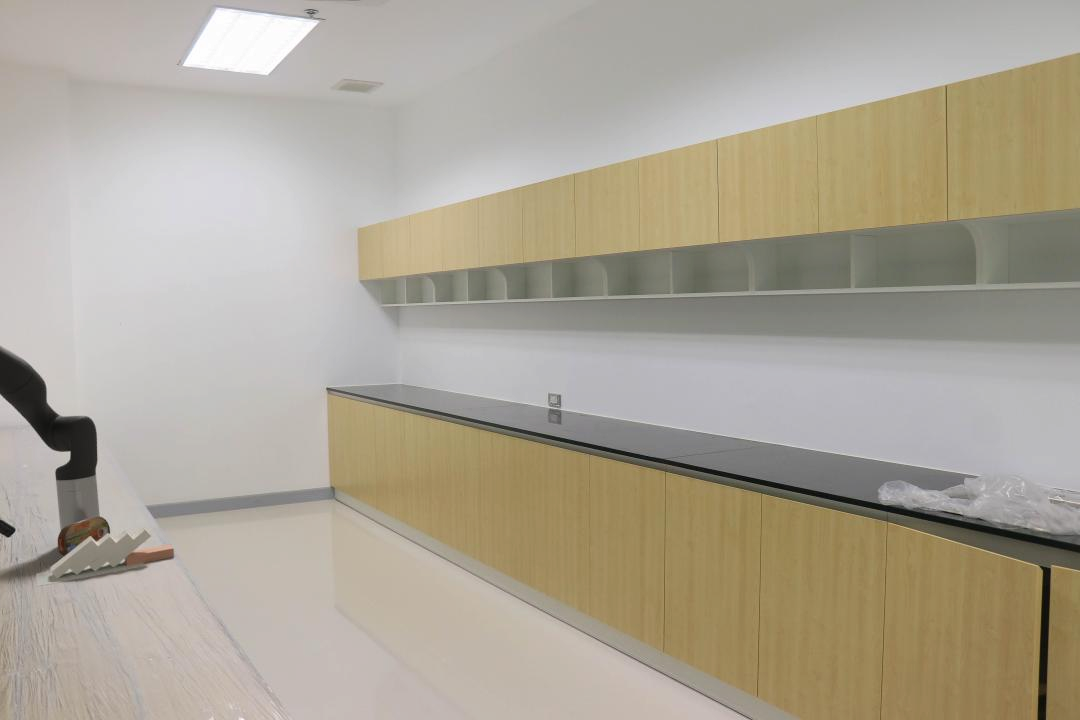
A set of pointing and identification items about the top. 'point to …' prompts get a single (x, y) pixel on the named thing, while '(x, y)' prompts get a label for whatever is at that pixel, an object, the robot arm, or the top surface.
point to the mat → (83, 573)
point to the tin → (81, 533)
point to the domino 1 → (73, 557)
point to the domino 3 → (112, 550)
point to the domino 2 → (94, 553)
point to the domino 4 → (130, 546)
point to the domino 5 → (149, 554)
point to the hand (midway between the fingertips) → (12, 533)
